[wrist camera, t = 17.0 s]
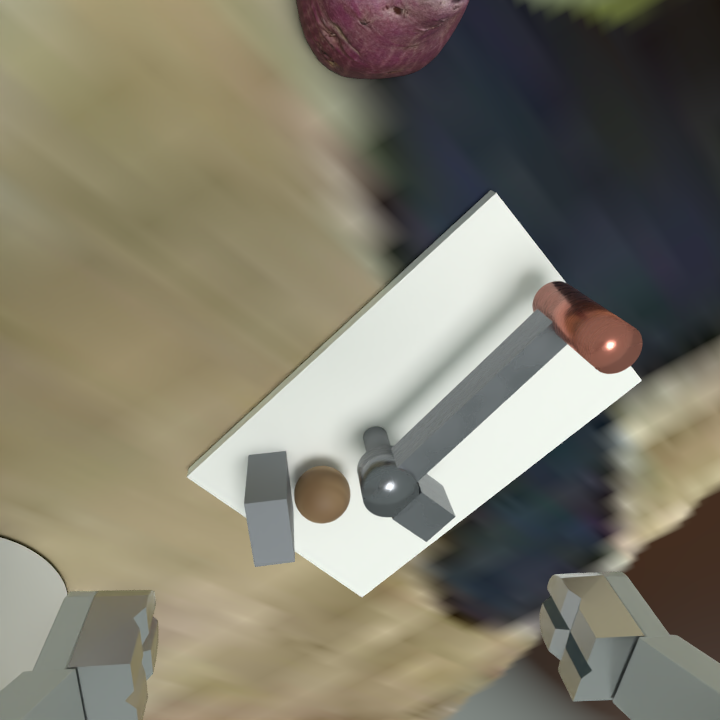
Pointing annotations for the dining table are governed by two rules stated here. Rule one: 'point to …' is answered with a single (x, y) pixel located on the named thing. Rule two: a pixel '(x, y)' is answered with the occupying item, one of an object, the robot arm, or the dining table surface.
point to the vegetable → (378, 34)
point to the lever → (488, 403)
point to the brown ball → (322, 494)
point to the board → (406, 402)
